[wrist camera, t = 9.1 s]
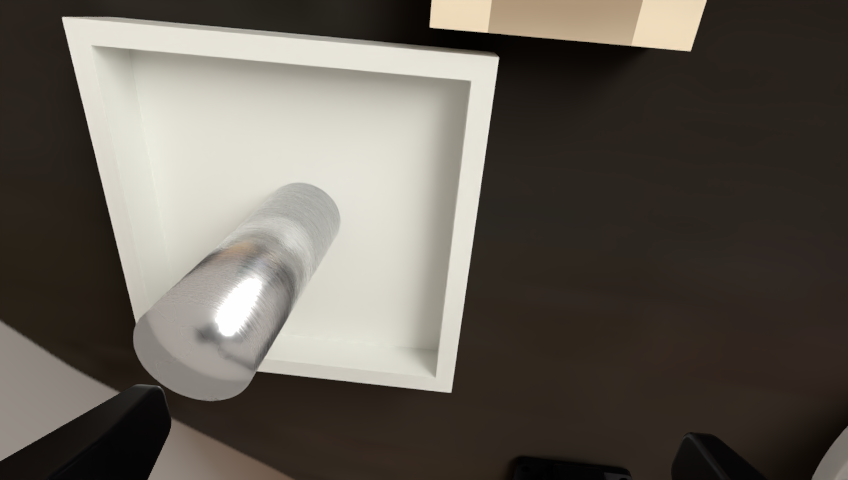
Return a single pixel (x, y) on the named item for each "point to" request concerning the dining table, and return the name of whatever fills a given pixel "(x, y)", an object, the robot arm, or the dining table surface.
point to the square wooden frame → (578, 20)
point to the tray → (298, 176)
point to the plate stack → (834, 461)
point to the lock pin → (238, 297)
